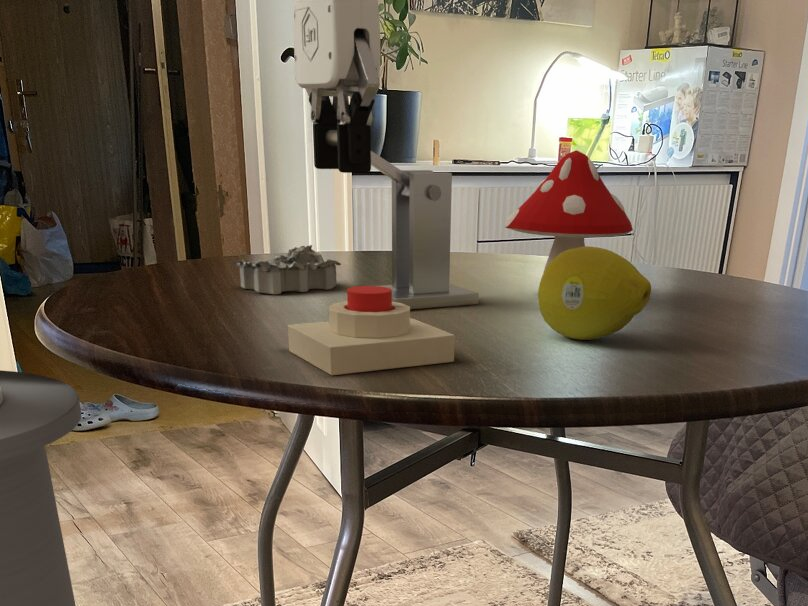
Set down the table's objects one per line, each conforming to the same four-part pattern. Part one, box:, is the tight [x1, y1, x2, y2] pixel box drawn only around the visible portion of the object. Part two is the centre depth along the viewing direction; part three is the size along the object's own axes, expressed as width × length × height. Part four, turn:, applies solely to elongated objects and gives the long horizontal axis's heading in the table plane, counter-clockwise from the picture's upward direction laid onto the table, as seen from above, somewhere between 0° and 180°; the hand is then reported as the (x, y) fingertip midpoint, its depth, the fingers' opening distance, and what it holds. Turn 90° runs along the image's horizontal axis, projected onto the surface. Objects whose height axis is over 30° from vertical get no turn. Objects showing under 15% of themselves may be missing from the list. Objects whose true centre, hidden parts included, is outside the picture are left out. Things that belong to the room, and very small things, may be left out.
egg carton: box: [233, 244, 342, 295], centre depth 104 cm, size 11×8×4 cm
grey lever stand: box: [379, 169, 480, 311], centre depth 96 cm, size 10×8×13 cm
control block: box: [287, 300, 456, 376], centre depth 75 cm, size 11×9×4 cm
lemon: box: [537, 245, 652, 341], centre depth 82 cm, size 11×8×8 cm
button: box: [346, 285, 392, 312], centre depth 74 cm, size 4×4×2 cm
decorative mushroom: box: [504, 149, 634, 274], centre depth 101 cm, size 14×14×15 cm
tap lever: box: [325, 130, 414, 200], centre depth 91 cm, size 12×5×2 cm, turn 120°
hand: (342, 168), depth 89 cm, fingers closed on tap lever, 5 cm apart
